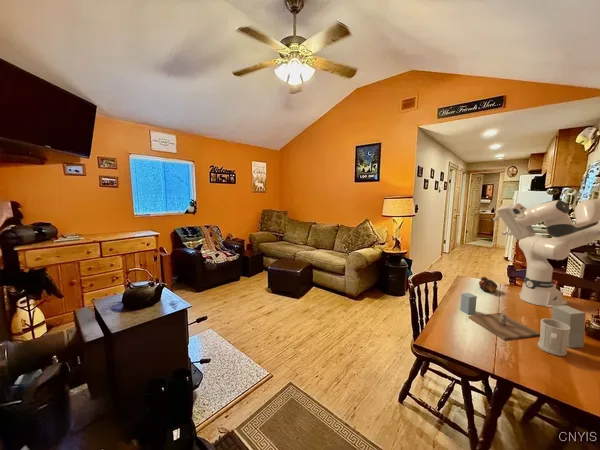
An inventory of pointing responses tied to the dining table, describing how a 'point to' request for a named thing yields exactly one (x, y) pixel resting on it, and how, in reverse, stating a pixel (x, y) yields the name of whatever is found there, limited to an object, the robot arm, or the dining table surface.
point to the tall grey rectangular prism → (468, 303)
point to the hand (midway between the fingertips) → (498, 226)
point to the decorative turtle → (487, 285)
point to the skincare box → (571, 324)
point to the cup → (553, 337)
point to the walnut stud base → (504, 326)
